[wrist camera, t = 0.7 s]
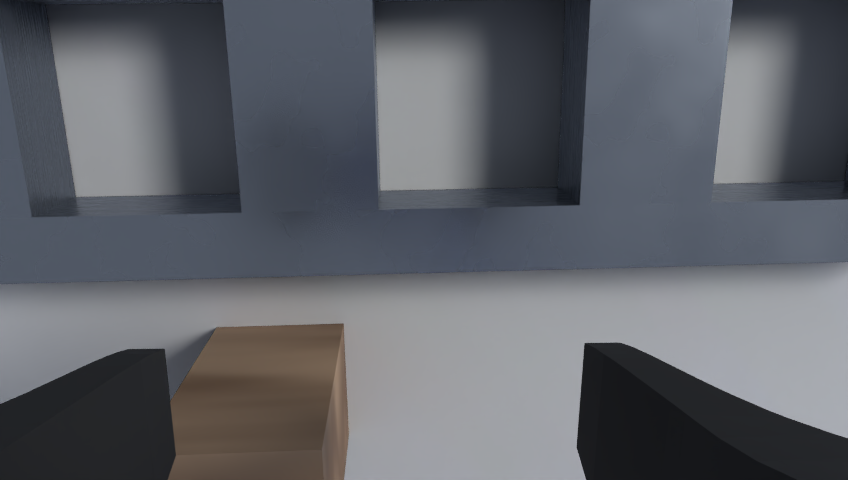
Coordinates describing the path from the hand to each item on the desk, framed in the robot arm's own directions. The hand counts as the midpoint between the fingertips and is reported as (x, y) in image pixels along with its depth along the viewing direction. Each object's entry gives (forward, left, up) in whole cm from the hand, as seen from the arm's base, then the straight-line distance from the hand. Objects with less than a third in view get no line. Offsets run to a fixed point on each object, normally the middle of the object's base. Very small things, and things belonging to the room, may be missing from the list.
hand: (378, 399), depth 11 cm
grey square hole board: (+4, -3, -10) cm, 11 cm away
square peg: (-5, +3, -10) cm, 11 cm away
